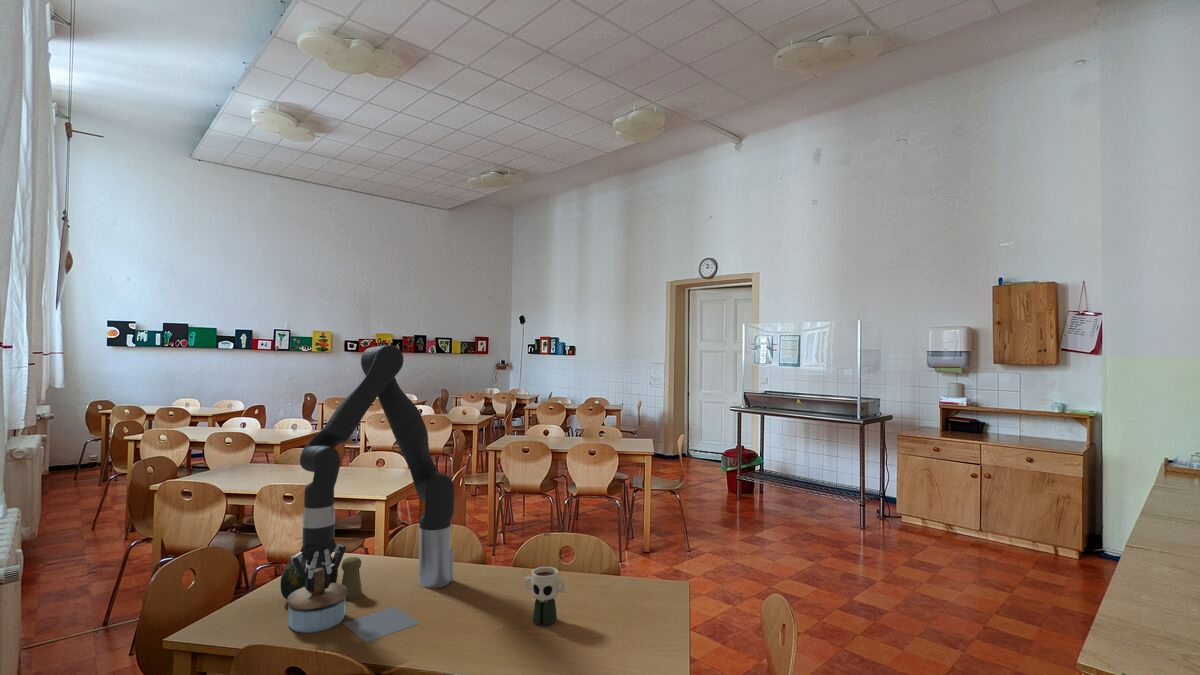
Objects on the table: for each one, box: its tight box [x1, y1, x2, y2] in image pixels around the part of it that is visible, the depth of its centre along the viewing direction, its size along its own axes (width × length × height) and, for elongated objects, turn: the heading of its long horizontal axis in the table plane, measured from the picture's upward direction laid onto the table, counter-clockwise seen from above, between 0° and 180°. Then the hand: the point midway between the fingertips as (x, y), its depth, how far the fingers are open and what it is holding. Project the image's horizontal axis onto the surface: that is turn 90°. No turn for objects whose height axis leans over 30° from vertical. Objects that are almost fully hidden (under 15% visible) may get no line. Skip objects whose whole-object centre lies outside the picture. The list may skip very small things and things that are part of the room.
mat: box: [342, 606, 421, 643], centre depth 152 cm, size 14×14×1 cm
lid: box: [286, 568, 347, 609], centre depth 153 cm, size 14×14×7 cm
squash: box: [280, 554, 339, 601], centre depth 170 cm, size 14×15×15 cm
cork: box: [341, 556, 363, 600], centre depth 169 cm, size 6×6×11 cm
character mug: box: [524, 566, 566, 626], centre depth 155 cm, size 11×7×13 cm, turn 79°
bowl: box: [287, 597, 347, 634], centre depth 153 cm, size 13×13×6 cm
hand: (317, 589), depth 153 cm, fingers closed on lid, 3 cm apart
